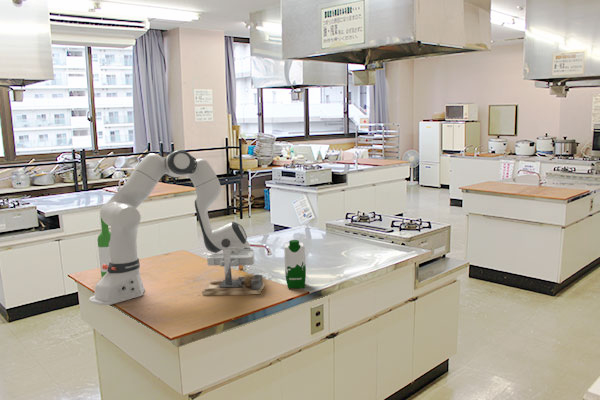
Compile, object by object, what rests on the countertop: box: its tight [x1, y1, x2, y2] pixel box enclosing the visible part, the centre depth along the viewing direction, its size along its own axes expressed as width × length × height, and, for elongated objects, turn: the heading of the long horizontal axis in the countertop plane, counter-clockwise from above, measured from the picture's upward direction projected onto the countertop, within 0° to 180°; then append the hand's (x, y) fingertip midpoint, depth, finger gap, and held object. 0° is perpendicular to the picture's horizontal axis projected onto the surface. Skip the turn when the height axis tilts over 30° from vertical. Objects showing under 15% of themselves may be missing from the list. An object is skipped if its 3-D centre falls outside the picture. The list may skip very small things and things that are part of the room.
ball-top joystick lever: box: [219, 239, 245, 288], centre depth 205 cm, size 9×7×21 cm
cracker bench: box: [201, 274, 265, 296], centre depth 207 cm, size 24×10×6 cm, turn 84°
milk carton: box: [283, 239, 307, 290], centre depth 208 cm, size 9×9×20 cm
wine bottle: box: [97, 216, 111, 279], centre depth 233 cm, size 8×8×30 cm
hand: (226, 264), depth 205 cm, fingers closed on ball-top joystick lever, 3 cm apart
